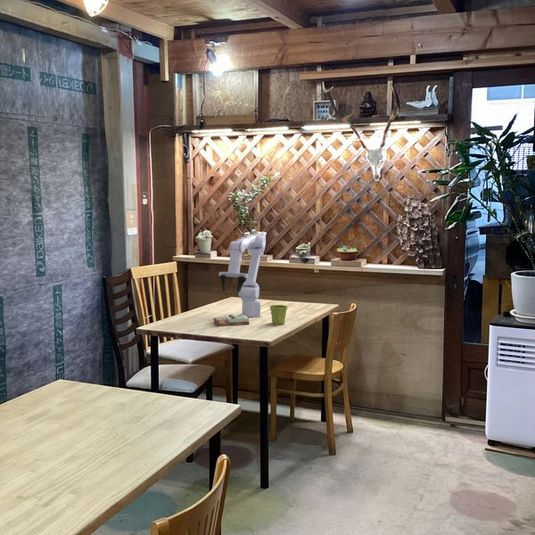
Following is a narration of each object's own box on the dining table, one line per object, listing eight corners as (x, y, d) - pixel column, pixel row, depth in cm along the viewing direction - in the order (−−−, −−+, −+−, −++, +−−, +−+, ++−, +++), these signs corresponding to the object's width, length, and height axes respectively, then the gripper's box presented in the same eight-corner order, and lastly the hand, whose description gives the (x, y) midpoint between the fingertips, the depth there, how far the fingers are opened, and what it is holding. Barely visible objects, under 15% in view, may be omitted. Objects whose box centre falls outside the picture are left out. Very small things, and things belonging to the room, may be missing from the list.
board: (244, 320, 314) (244, 313, 314) (249, 324, 306) (249, 316, 305) (213, 322, 310) (213, 315, 309) (217, 326, 301) (217, 318, 301)
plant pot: (290, 322, 311) (290, 305, 310) (283, 326, 303) (283, 308, 302) (273, 320, 315) (274, 304, 314) (266, 324, 307) (266, 307, 306)
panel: (244, 318, 314) (244, 315, 314) (248, 321, 306) (248, 318, 306) (225, 319, 311) (225, 316, 311) (229, 322, 303) (229, 319, 303)
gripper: (218, 261, 306) (214, 288, 303) (245, 263, 301) (242, 290, 299) (223, 265, 312) (219, 291, 310) (250, 266, 308) (246, 293, 305)
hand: (231, 291), depth 304 cm, fingers open, 7 cm apart
